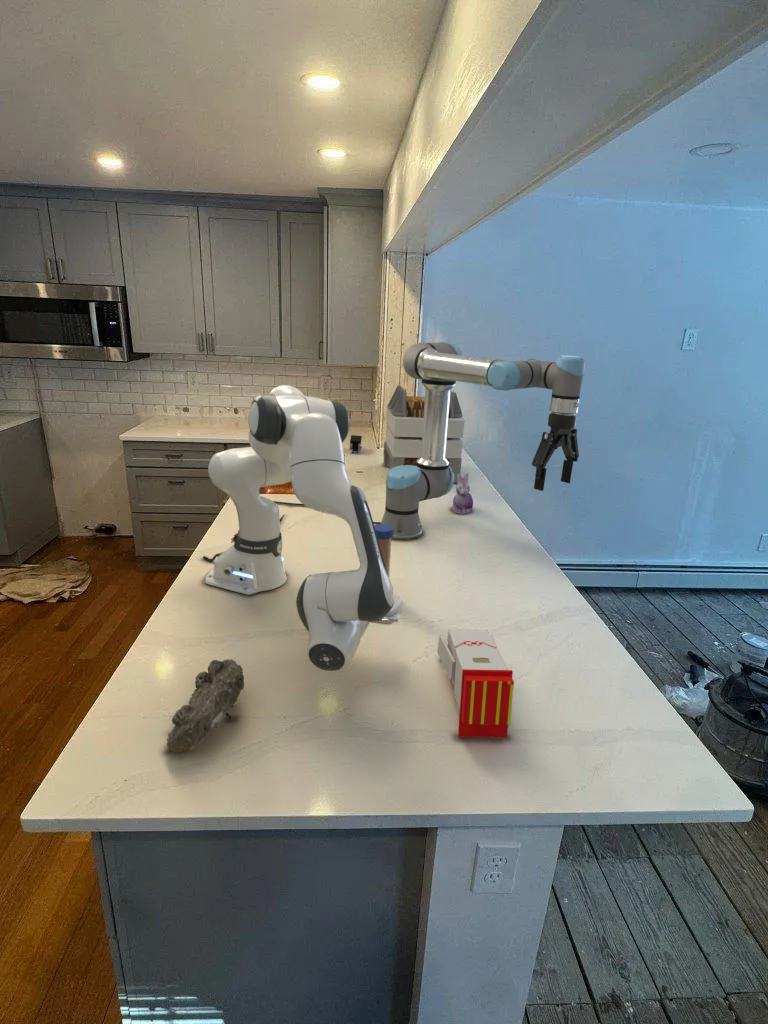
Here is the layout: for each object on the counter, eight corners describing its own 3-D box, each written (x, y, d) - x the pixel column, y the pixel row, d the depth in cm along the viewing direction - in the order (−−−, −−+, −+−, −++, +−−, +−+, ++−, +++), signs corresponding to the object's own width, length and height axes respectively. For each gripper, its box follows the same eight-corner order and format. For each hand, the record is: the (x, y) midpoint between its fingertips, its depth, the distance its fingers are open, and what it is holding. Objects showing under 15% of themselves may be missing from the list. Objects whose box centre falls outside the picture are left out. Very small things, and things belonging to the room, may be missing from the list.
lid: (393, 532, 152) (393, 524, 152) (392, 540, 147) (393, 532, 147) (372, 531, 153) (373, 523, 152) (371, 539, 147) (371, 531, 147)
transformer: (382, 463, 289) (386, 382, 275) (445, 464, 293) (451, 384, 279) (390, 482, 257) (394, 392, 243) (460, 483, 261) (468, 394, 247)
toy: (488, 613, 130) (523, 677, 101) (484, 667, 133) (517, 744, 104) (435, 612, 130) (455, 676, 101) (432, 666, 133) (451, 743, 103)
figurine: (459, 516, 220) (463, 478, 214) (445, 507, 228) (448, 471, 223) (479, 513, 224) (483, 476, 219) (464, 505, 232) (468, 469, 227)
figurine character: (361, 456, 305) (361, 447, 319) (361, 443, 302) (362, 434, 315) (348, 456, 305) (350, 446, 318) (349, 442, 302) (350, 433, 315)
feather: (291, 508, 223) (294, 504, 222) (274, 533, 196) (277, 528, 195) (287, 506, 222) (290, 502, 222) (270, 530, 196) (272, 526, 195)
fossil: (192, 660, 117) (244, 628, 112) (224, 691, 120) (276, 661, 115) (142, 746, 98) (202, 712, 93) (182, 779, 101) (242, 748, 96)
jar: (388, 592, 158) (391, 526, 151) (388, 601, 154) (391, 533, 147) (371, 592, 158) (374, 525, 152) (370, 600, 154) (373, 532, 147)
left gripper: (397, 610, 117) (408, 581, 129) (302, 598, 120) (322, 571, 133) (396, 637, 119) (407, 606, 132) (303, 624, 122) (322, 595, 135)
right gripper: (548, 419, 148) (537, 496, 155) (598, 411, 163) (586, 482, 171) (525, 414, 153) (515, 489, 160) (575, 407, 169) (564, 476, 176)
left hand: (364, 588), depth 132 cm, fingers open, 8 cm apart
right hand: (552, 485), depth 166 cm, fingers open, 13 cm apart
